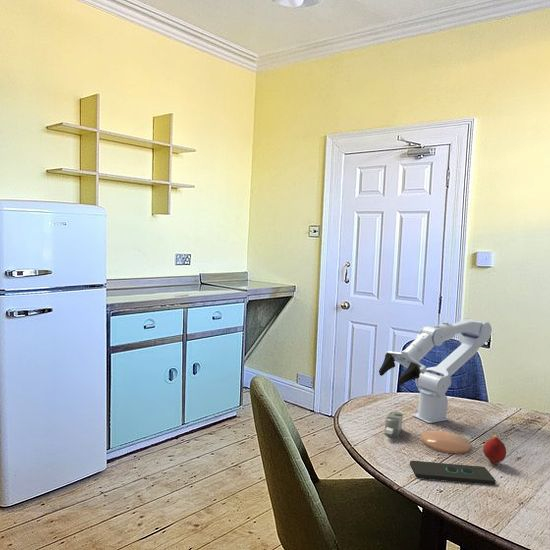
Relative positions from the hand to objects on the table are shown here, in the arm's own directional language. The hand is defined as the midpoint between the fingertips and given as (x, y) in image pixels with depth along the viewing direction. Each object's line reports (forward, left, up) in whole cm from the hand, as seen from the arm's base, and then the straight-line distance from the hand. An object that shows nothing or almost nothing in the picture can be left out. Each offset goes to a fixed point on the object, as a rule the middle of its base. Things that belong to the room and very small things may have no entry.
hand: (389, 377), depth 161 cm
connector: (0, +4, -17) cm, 17 cm away
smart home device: (+5, +31, -17) cm, 36 cm away
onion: (-12, +31, -17) cm, 37 cm away
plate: (-10, +16, -17) cm, 25 cm away
